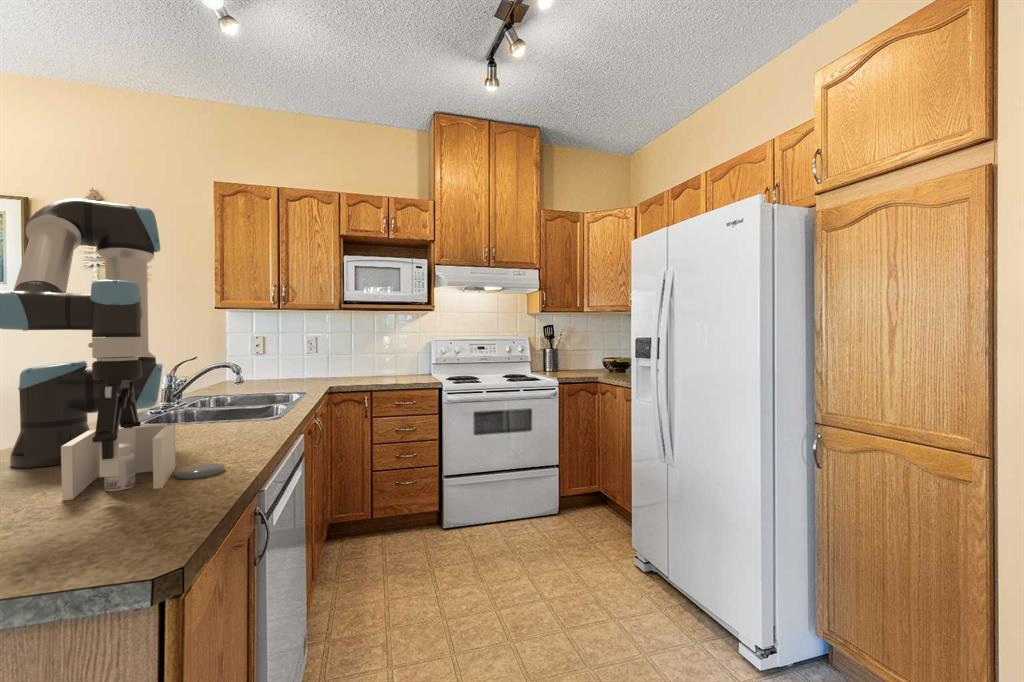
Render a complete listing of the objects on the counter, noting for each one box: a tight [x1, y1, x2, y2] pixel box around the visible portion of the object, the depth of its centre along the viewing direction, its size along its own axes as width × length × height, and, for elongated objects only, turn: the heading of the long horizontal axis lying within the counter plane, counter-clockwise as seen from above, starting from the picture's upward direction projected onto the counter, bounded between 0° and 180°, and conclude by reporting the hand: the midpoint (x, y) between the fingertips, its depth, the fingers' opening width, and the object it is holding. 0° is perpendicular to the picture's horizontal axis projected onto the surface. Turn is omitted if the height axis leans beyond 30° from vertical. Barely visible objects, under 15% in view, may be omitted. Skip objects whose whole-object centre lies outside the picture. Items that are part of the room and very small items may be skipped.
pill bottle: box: [103, 444, 136, 493], centre depth 94 cm, size 5×5×8 cm
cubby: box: [60, 423, 177, 502], centre depth 97 cm, size 16×15×10 cm
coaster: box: [174, 463, 225, 481], centre depth 103 cm, size 9×9×1 cm
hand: (119, 467), depth 93 cm, fingers open, 13 cm apart
